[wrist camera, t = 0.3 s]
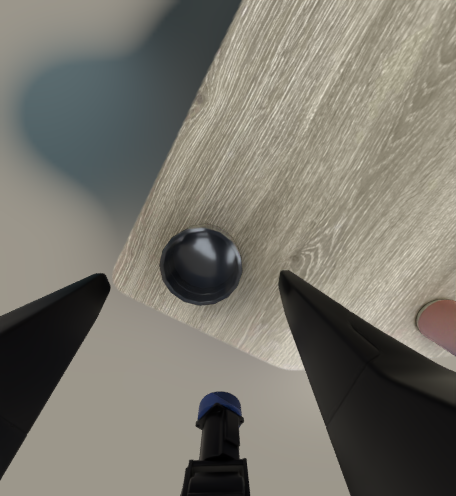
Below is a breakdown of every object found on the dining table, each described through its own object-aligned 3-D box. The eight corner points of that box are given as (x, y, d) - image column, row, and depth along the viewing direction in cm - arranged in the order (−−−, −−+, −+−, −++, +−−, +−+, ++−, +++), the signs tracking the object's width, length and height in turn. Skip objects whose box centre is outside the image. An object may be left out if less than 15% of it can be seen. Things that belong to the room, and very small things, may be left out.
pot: (211, 300, 23) (208, 319, 20) (158, 262, 22) (144, 274, 18) (252, 252, 22) (258, 262, 18) (198, 209, 21) (192, 210, 17)
